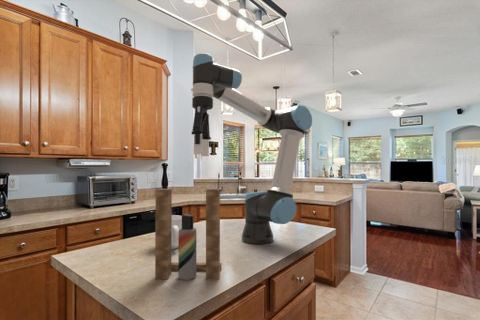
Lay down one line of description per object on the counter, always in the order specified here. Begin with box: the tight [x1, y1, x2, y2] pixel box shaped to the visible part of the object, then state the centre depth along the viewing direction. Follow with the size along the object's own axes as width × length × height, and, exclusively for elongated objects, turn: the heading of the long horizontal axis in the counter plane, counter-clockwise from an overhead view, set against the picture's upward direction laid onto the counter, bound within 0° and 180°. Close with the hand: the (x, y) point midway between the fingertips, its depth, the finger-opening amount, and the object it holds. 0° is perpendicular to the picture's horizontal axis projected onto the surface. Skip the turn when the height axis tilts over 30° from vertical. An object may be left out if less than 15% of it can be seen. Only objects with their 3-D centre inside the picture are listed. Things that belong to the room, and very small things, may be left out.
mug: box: [172, 214, 183, 250], centre depth 115 cm, size 15×11×13 cm
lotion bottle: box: [177, 213, 197, 281], centre depth 86 cm, size 6×6×20 cm
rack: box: [154, 188, 222, 281], centre depth 88 cm, size 20×9×28 cm, turn 89°
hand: (201, 155), depth 97 cm, fingers open, 13 cm apart
